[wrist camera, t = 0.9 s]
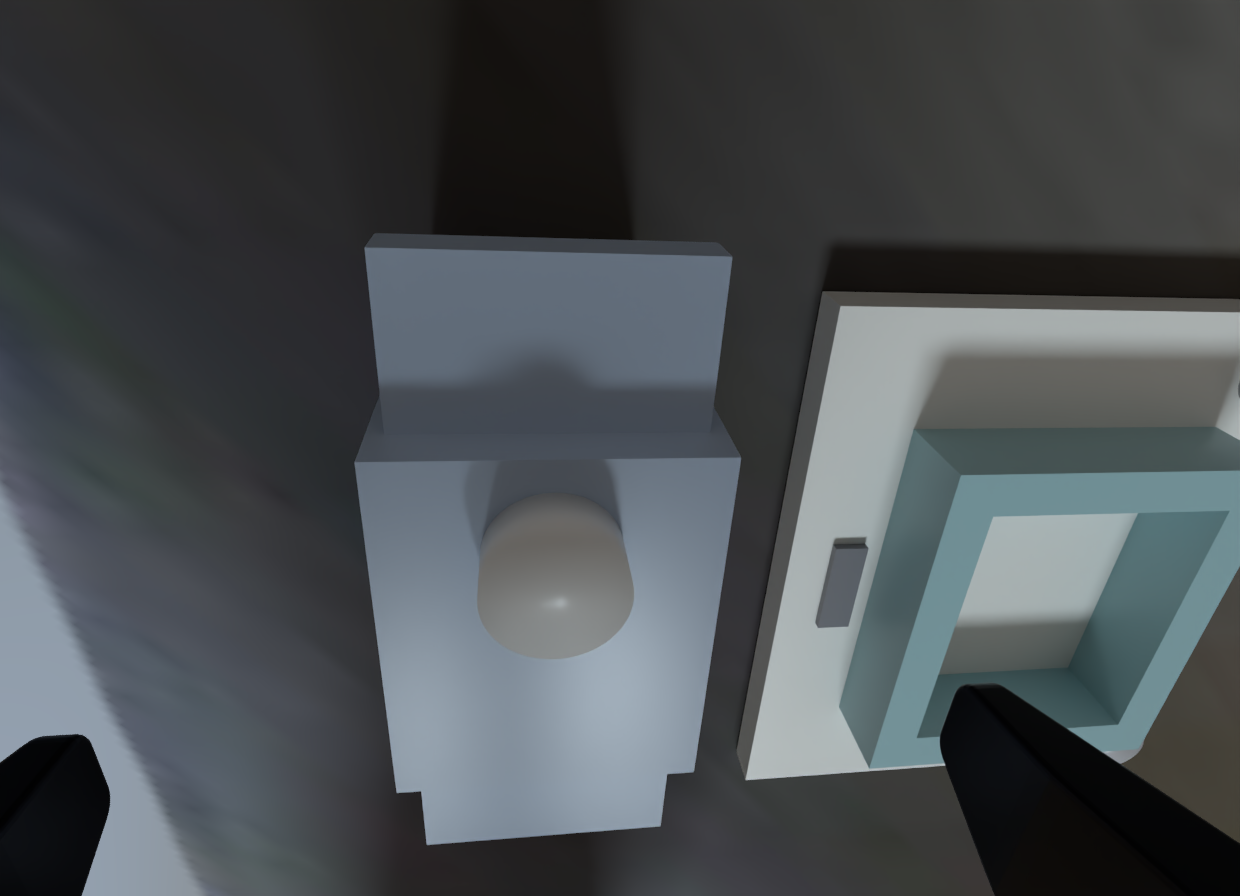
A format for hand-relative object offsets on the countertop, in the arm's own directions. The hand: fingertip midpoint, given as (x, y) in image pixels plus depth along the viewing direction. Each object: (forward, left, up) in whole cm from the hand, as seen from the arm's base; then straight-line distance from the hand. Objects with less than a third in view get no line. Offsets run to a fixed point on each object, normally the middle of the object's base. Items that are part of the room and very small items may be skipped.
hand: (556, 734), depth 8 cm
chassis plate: (-5, -12, -9) cm, 16 cm away
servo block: (0, 0, -9) cm, 9 cm away
